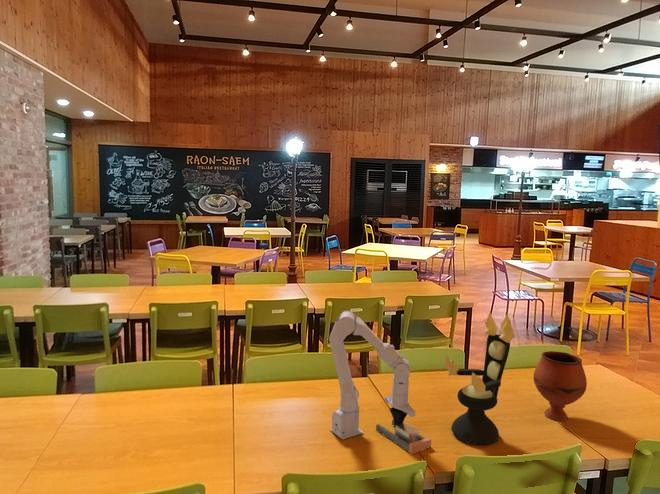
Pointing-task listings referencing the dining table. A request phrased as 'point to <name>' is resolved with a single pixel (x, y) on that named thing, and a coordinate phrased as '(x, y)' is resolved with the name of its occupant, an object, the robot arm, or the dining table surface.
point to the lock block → (407, 432)
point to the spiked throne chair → (482, 386)
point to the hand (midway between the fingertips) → (398, 427)
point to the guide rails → (410, 447)
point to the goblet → (559, 381)
